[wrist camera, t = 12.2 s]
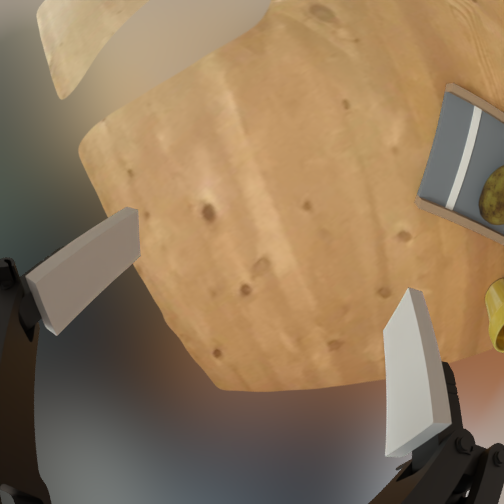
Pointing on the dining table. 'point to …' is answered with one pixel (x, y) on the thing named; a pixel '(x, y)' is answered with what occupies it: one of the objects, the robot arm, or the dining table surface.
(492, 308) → the plant pot
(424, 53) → the dining table surface
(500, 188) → the potato
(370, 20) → the dining table surface
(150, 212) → the dining table surface
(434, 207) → the lane
